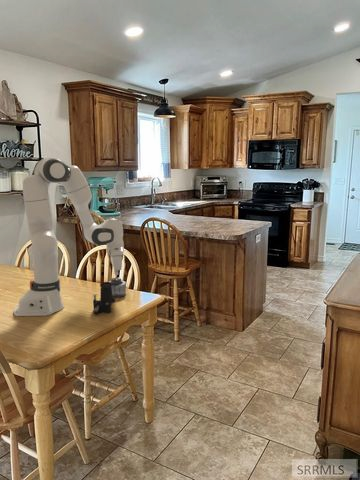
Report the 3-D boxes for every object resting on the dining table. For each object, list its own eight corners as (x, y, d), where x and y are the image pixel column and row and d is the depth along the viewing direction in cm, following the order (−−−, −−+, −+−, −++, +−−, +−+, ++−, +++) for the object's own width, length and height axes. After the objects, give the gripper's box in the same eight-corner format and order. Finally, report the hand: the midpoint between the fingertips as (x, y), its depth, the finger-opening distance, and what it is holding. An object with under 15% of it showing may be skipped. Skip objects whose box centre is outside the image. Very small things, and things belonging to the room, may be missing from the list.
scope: (92, 282, 183) (113, 280, 186) (93, 309, 185) (114, 307, 188) (93, 287, 175) (115, 285, 178) (94, 316, 178) (116, 313, 181)
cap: (111, 290, 203) (111, 280, 202) (110, 287, 208) (110, 277, 207) (122, 289, 204) (121, 279, 203) (120, 286, 209) (120, 276, 208)
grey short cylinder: (107, 298, 201) (107, 286, 200) (106, 292, 210) (105, 280, 209) (127, 296, 203) (126, 285, 202) (124, 290, 213) (124, 279, 212)
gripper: (107, 245, 211) (108, 269, 214) (110, 253, 192) (112, 280, 194) (119, 244, 213) (120, 268, 215) (123, 252, 193) (124, 279, 196)
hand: (116, 274), depth 205 cm, fingers closed
